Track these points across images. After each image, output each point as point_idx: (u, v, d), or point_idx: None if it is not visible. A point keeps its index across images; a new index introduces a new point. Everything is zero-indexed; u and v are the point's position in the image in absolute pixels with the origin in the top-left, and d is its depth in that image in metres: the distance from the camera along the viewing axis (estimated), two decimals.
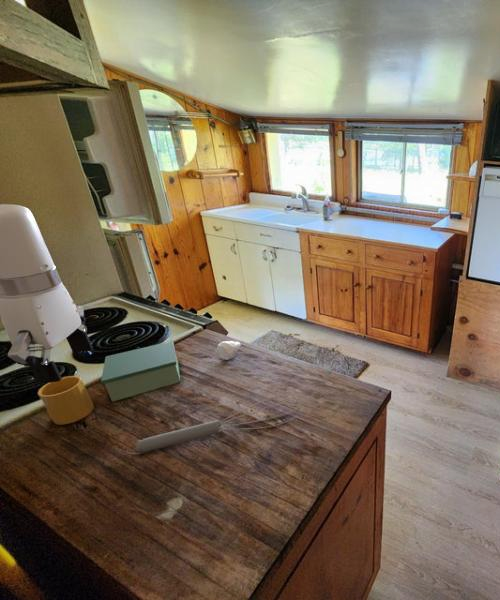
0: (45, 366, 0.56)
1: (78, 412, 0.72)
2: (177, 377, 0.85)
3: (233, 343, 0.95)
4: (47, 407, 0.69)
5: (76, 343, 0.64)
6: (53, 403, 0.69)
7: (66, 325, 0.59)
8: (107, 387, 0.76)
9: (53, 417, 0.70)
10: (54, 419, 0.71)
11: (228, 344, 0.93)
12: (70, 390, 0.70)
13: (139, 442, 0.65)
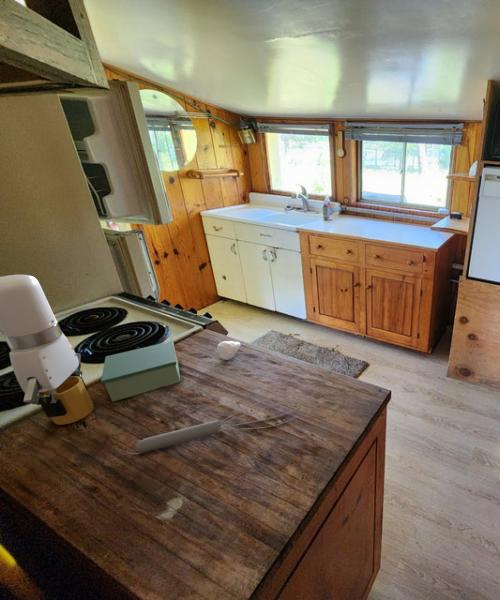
0: (53, 404, 0.68)
1: (78, 412, 0.72)
2: (177, 377, 0.85)
3: (233, 343, 0.95)
4: None
5: None
6: None
7: (66, 369, 0.70)
8: (107, 387, 0.76)
9: (53, 417, 0.70)
10: (54, 419, 0.71)
11: (228, 344, 0.93)
12: (70, 390, 0.70)
13: (139, 442, 0.65)
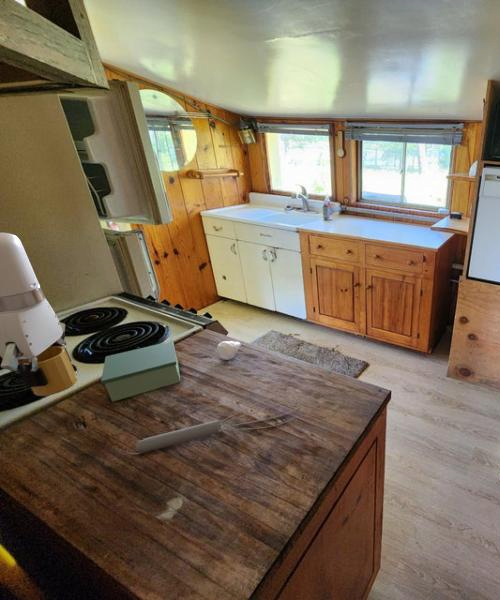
0: (34, 372, 0.64)
1: (60, 383, 0.69)
2: (177, 377, 0.85)
3: (233, 343, 0.95)
4: None
5: None
6: None
7: (48, 336, 0.66)
8: (107, 387, 0.76)
9: (33, 387, 0.67)
10: (34, 390, 0.67)
11: (228, 344, 0.93)
12: (52, 359, 0.67)
13: (139, 442, 0.65)
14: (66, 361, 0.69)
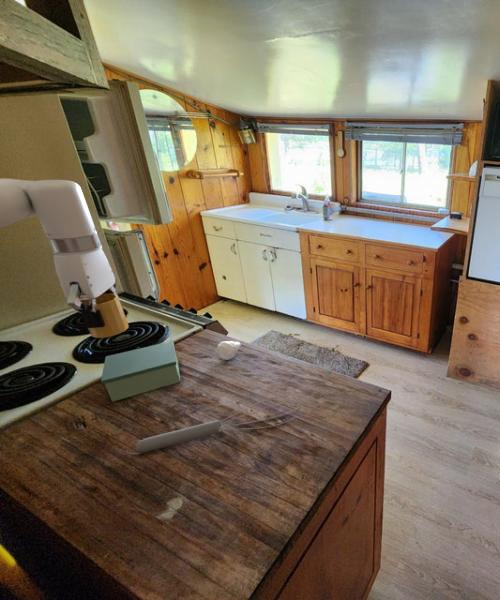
0: (93, 313, 0.70)
1: (115, 326, 0.74)
2: (177, 377, 0.85)
3: (233, 343, 0.95)
4: None
5: None
6: None
7: (104, 282, 0.72)
8: (107, 387, 0.76)
9: (92, 329, 0.72)
10: (93, 332, 0.72)
11: (228, 344, 0.93)
12: (108, 302, 0.72)
13: (139, 442, 0.65)
14: (119, 306, 0.75)
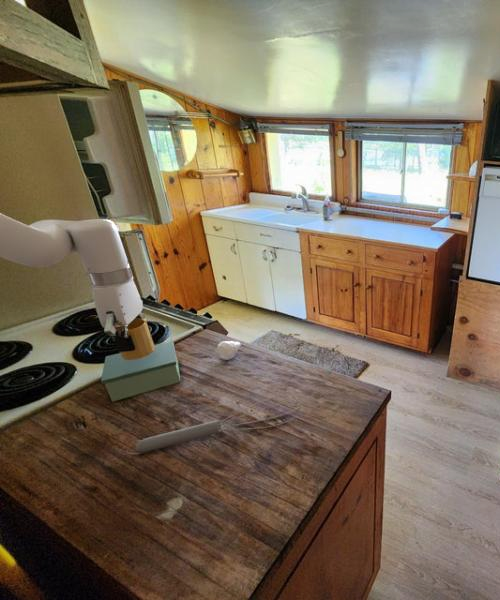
0: (125, 339, 0.76)
1: (144, 349, 0.80)
2: (177, 377, 0.85)
3: (233, 343, 0.95)
4: None
5: None
6: None
7: (134, 309, 0.78)
8: (107, 387, 0.76)
9: (123, 352, 0.78)
10: (124, 354, 0.79)
11: (228, 344, 0.93)
12: (138, 328, 0.78)
13: (139, 442, 0.65)
14: (148, 330, 0.81)
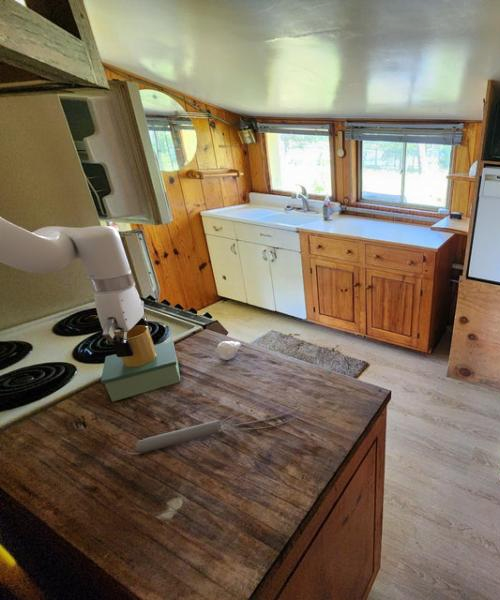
0: (123, 344, 0.75)
1: (146, 356, 0.81)
2: (177, 377, 0.85)
3: (233, 343, 0.95)
4: None
5: None
6: None
7: (136, 314, 0.78)
8: (107, 387, 0.76)
9: (125, 359, 0.79)
10: (126, 361, 0.79)
11: (228, 344, 0.93)
12: (141, 335, 0.79)
13: (139, 442, 0.65)
14: (150, 337, 0.82)
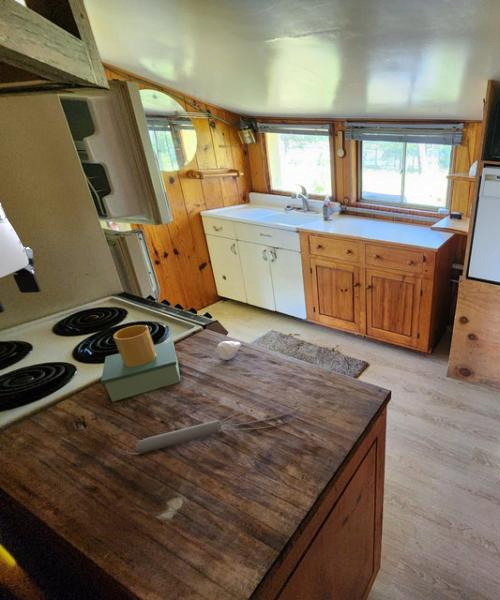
0: None
1: (146, 356, 0.81)
2: (177, 377, 0.85)
3: (233, 343, 0.95)
4: (121, 350, 0.78)
5: (24, 283, 0.68)
6: (127, 345, 0.78)
7: (11, 261, 0.62)
8: (107, 387, 0.76)
9: (125, 359, 0.79)
10: (126, 361, 0.79)
11: (228, 344, 0.93)
12: (141, 335, 0.79)
13: (139, 442, 0.65)
14: (150, 337, 0.82)
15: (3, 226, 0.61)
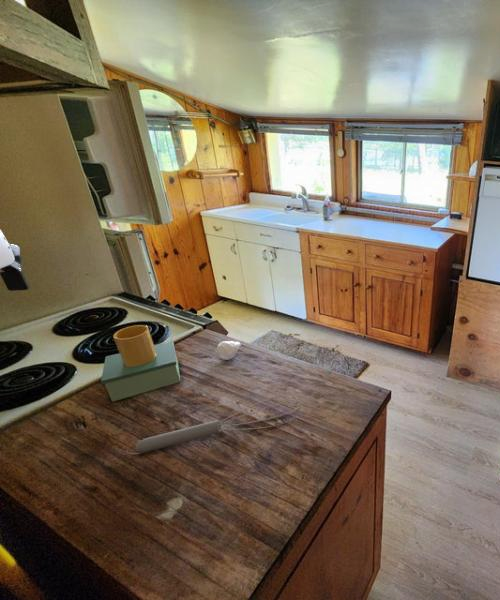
0: None
1: (146, 356, 0.81)
2: (177, 377, 0.85)
3: (233, 343, 0.95)
4: (121, 350, 0.78)
5: (11, 281, 0.66)
6: (127, 345, 0.78)
7: None
8: (107, 387, 0.76)
9: (125, 359, 0.79)
10: (126, 361, 0.79)
11: (228, 344, 0.93)
12: (141, 335, 0.79)
13: (139, 442, 0.65)
14: (150, 337, 0.82)
15: None
